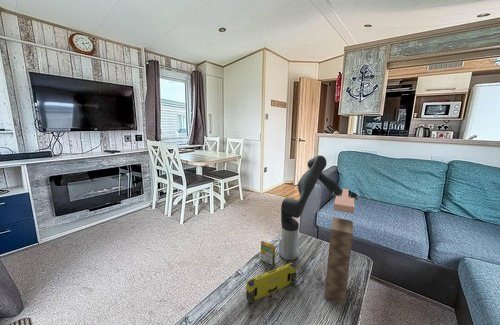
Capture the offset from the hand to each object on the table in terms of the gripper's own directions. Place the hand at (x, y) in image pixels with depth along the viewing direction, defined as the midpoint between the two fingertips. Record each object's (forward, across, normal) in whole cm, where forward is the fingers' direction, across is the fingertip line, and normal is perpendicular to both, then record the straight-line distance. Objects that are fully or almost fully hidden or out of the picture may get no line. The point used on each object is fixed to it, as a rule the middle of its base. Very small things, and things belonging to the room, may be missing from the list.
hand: (345, 191), depth 110 cm
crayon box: (-2, -35, +44) cm, 56 cm away
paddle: (+6, 0, +7) cm, 10 cm away
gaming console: (+14, -25, +53) cm, 61 cm away
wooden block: (+3, 0, +47) cm, 47 cm away
